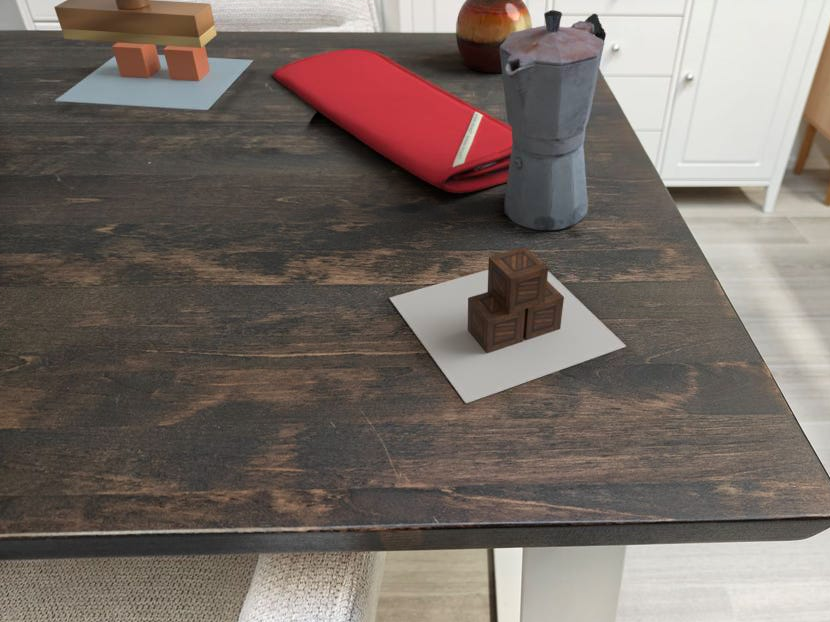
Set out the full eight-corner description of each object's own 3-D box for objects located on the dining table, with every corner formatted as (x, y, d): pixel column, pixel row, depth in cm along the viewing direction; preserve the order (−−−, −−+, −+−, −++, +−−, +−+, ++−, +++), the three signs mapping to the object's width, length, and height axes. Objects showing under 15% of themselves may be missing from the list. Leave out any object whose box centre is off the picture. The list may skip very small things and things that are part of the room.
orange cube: (120, 76, 101) (111, 46, 98) (133, 66, 104) (125, 36, 101) (149, 78, 101) (140, 48, 98) (161, 67, 104) (153, 38, 101)
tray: (57, 109, 95) (53, 100, 94) (121, 60, 109) (119, 52, 108) (209, 119, 94) (207, 109, 93) (255, 68, 108) (253, 59, 107)
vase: (519, 81, 106) (526, -39, 96) (445, 72, 108) (444, -47, 98) (537, 56, 114) (545, -58, 104) (468, 47, 116) (469, -64, 106)
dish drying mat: (371, 63, 110) (369, 36, 108) (552, 169, 85) (554, 138, 83) (272, 85, 103) (268, 57, 100) (438, 208, 78) (437, 176, 76)
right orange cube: (170, 79, 100) (162, 49, 98) (182, 69, 103) (175, 39, 101) (199, 81, 100) (192, 50, 98) (210, 70, 103) (203, 40, 101)
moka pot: (466, 224, 76) (467, 17, 63) (544, 168, 86) (559, -21, 72) (546, 254, 72) (566, 40, 59) (618, 192, 82) (649, -3, 68)
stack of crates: (533, 257, 72) (538, 192, 67) (626, 346, 62) (640, 278, 57) (388, 298, 66) (384, 231, 62) (466, 403, 56) (466, 333, 52)
